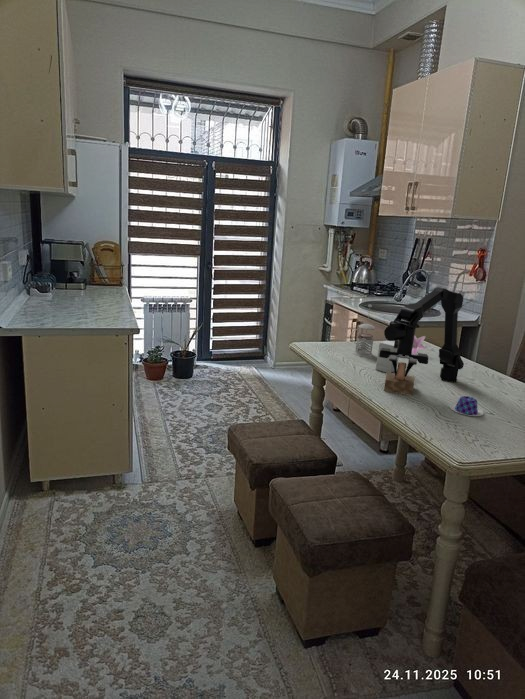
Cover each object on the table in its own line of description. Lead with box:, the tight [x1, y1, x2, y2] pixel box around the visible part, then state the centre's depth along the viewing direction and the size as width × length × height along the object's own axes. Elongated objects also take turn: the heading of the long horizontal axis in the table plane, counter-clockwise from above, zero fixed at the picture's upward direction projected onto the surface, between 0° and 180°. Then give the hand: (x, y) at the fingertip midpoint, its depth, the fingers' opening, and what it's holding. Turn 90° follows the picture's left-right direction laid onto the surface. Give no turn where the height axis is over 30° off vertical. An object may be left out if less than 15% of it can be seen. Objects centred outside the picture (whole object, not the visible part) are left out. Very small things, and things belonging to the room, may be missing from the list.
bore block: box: [383, 372, 415, 396], centre depth 216 cm, size 11×11×4 cm
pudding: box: [449, 395, 484, 417], centre depth 198 cm, size 12×12×5 cm
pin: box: [396, 361, 407, 380], centre depth 215 cm, size 3×3×9 cm
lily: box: [412, 335, 427, 355], centre depth 274 cm, size 12×12×10 cm
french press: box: [351, 304, 376, 358], centre depth 262 cm, size 10×12×25 cm
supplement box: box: [375, 340, 400, 374], centre depth 240 cm, size 7×7×13 cm
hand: (400, 376), depth 215 cm, fingers open, 3 cm apart
